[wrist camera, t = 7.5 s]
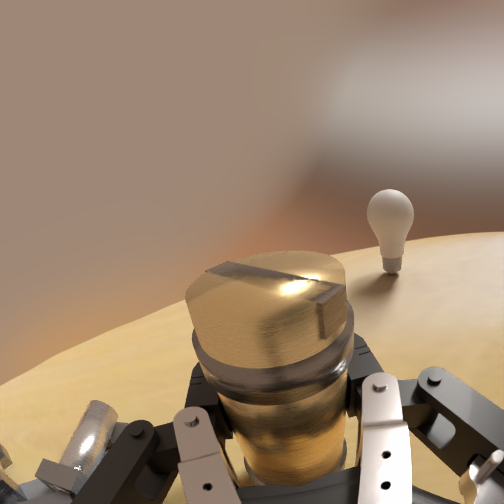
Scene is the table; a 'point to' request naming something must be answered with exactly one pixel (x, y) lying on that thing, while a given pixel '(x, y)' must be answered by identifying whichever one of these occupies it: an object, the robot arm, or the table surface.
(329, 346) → the gold cylindrical piece
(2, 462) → the shaft
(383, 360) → the table surface
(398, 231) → the lightbulb
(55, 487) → the shaft
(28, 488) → the stand
